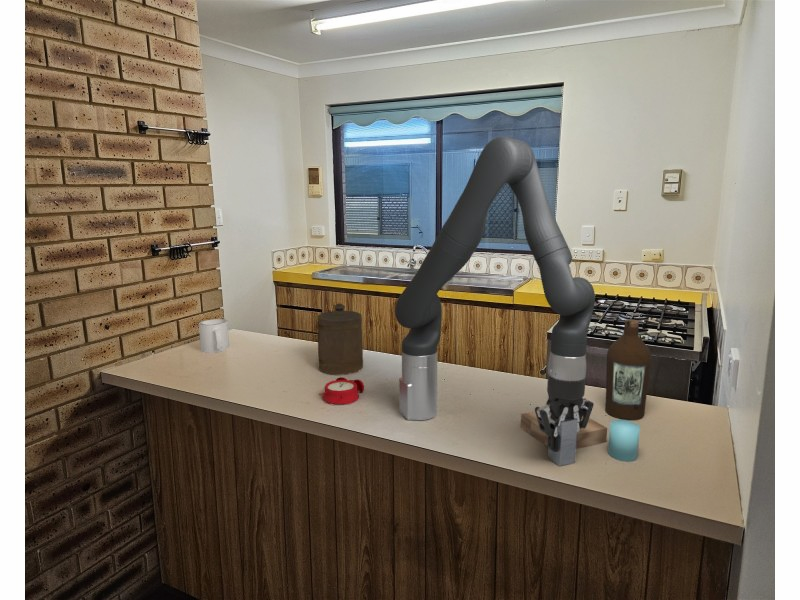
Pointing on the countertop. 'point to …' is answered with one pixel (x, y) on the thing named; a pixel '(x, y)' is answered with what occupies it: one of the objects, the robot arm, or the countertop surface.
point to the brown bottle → (627, 374)
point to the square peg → (565, 443)
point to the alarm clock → (342, 391)
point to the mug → (213, 335)
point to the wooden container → (340, 341)
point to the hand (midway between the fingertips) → (562, 448)
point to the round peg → (623, 440)
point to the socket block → (585, 436)
